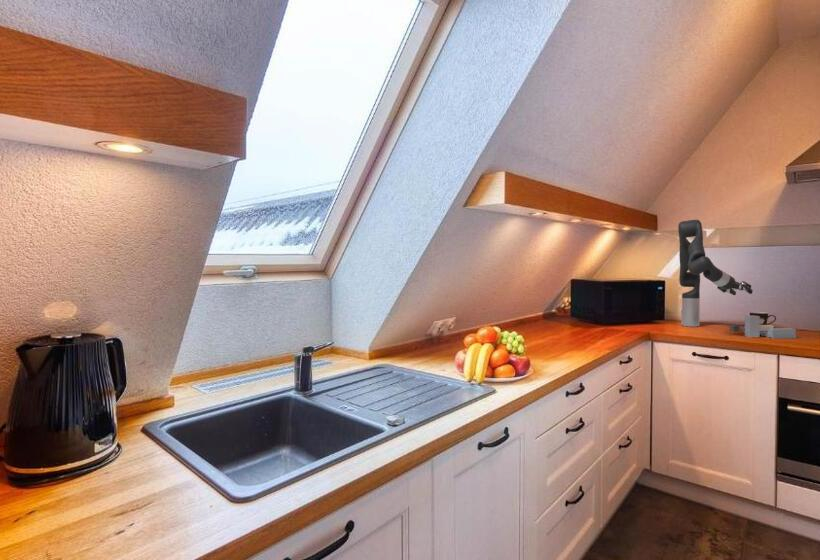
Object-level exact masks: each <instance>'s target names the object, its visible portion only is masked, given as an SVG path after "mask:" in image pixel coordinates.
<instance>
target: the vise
mask: <svg viewBox="0 0 820 560" xmlns="http://www.w3.org/2000/svg"><path fill="white" fill-rule="evenodd" d="M742 332H744V334H745V330H742ZM796 332H797V331H796V328H790V327H785V328H783V327H782V328H780V327H779V328H774V329H768V331H760V335H761V336H760V337H763V336H766V337H765V338H769V337H771V338H770V339H796V338H797V335H796Z"/></svg>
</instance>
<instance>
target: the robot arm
mask: <svg viewBox="0 0 820 560" xmlns="http://www.w3.org/2000/svg"><path fill="white" fill-rule="evenodd" d="M702 225H703V224H702V222H701V221H700V220H699V219H690V220H689V219H688V220H682V221H680V222H679V223H678V225H677V227H678V228H677V229H678V230H677V231H678V239H679V241H678V242H679V254H678V255H679V280H678V281H679V285H680V286H681V287H684V288H687V287H688V288H692V289H691V290H689V291H686V292H683V293H682V294H681V310H680V311H681V313H680V314H681V315H680V316H681V317H680V318H681V320H680V321H681V322H680V324H681V326H682V325H683V327H690V328H691V327H692V328H695V327H696V328H697V326H698V327H700V309H701V307H700V306H701V305H700V302H701V301H700V300H701V299H700V297H701V296H700V287H701V274H702V276H703V277H704V278H706V279H707V280H709V281H710V282H711V283H713V284H714V285H715V286H717V289H718V290H719V291H721V293H723V294H725V293H729V294H730V295H733V296H736V295H737V291H740V292H741V291H744V292H746V293H748V294H749V295H752V294H753V291H754V290H753V289H752V285H751V284H750V283H748V282H746V281H744V280H742V281H741V282H739V281H736V278H734V277H733V276H732V275H730V274H728V273H727V272H725V271H723V270H722V269H720V268H719V267H717V266H716V265H715V264H714V262H712V261H711V259H710V257H708V256H706V252H705V251H706V250H705V247H704V233H703V226H702ZM693 237H694V238H693ZM688 238H693V240H692V241H691V242H690V241H689V240H688Z"/></svg>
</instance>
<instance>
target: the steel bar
mask: <svg viewBox="0 0 820 560" xmlns="http://www.w3.org/2000/svg"><path fill="white" fill-rule="evenodd" d="M744 327H745V333H744V337H745V336H746V337H745V338H749V337H761V336H760V316H750V315H744Z"/></svg>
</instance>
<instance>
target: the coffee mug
mask: <svg viewBox="0 0 820 560" xmlns="http://www.w3.org/2000/svg"><path fill="white" fill-rule="evenodd" d="M749 316H760V325H772V324H773V323H774V322H776V321H777V317H776V316H775V315H774V314H773V315H772V314H769V312H766V311H765V312H764V311H749ZM770 317H774V320H773V321H771V322H769V323H768V319H769V318H770Z"/></svg>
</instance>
